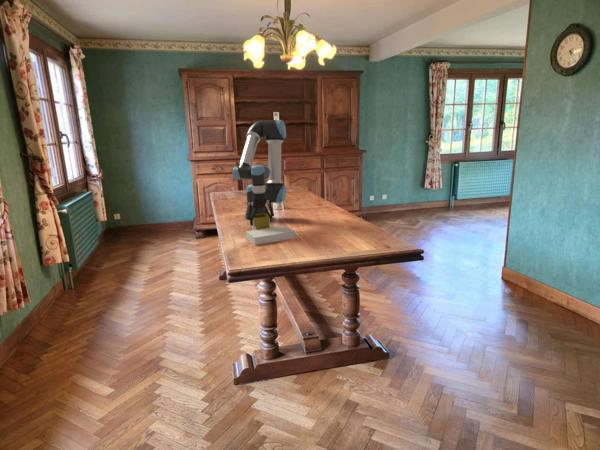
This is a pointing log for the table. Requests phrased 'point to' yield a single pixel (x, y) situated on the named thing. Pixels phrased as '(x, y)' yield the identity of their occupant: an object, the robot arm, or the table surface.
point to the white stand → (270, 235)
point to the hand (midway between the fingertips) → (261, 229)
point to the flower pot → (261, 221)
